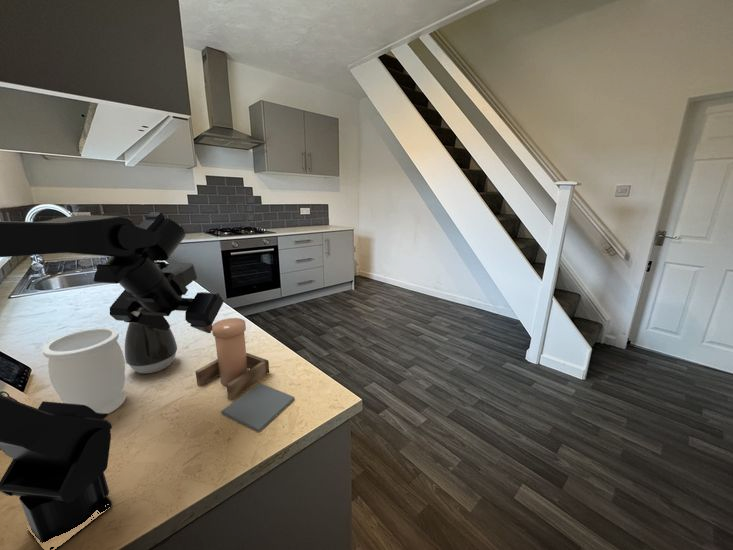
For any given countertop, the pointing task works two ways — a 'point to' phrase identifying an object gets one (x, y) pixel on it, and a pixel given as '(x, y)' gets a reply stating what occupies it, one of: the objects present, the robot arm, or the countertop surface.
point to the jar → (88, 369)
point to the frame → (241, 383)
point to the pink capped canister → (230, 348)
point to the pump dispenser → (149, 348)
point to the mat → (258, 406)
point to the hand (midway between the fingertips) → (189, 329)
